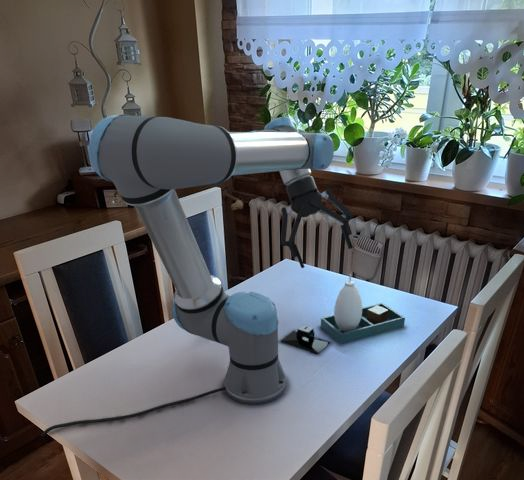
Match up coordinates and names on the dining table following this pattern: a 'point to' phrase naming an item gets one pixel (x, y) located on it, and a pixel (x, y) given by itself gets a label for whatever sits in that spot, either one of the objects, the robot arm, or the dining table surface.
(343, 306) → the sauce bottle
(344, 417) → the dining table surface
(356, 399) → the dining table surface
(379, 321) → the walnut block
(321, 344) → the build plate
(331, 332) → the tray
